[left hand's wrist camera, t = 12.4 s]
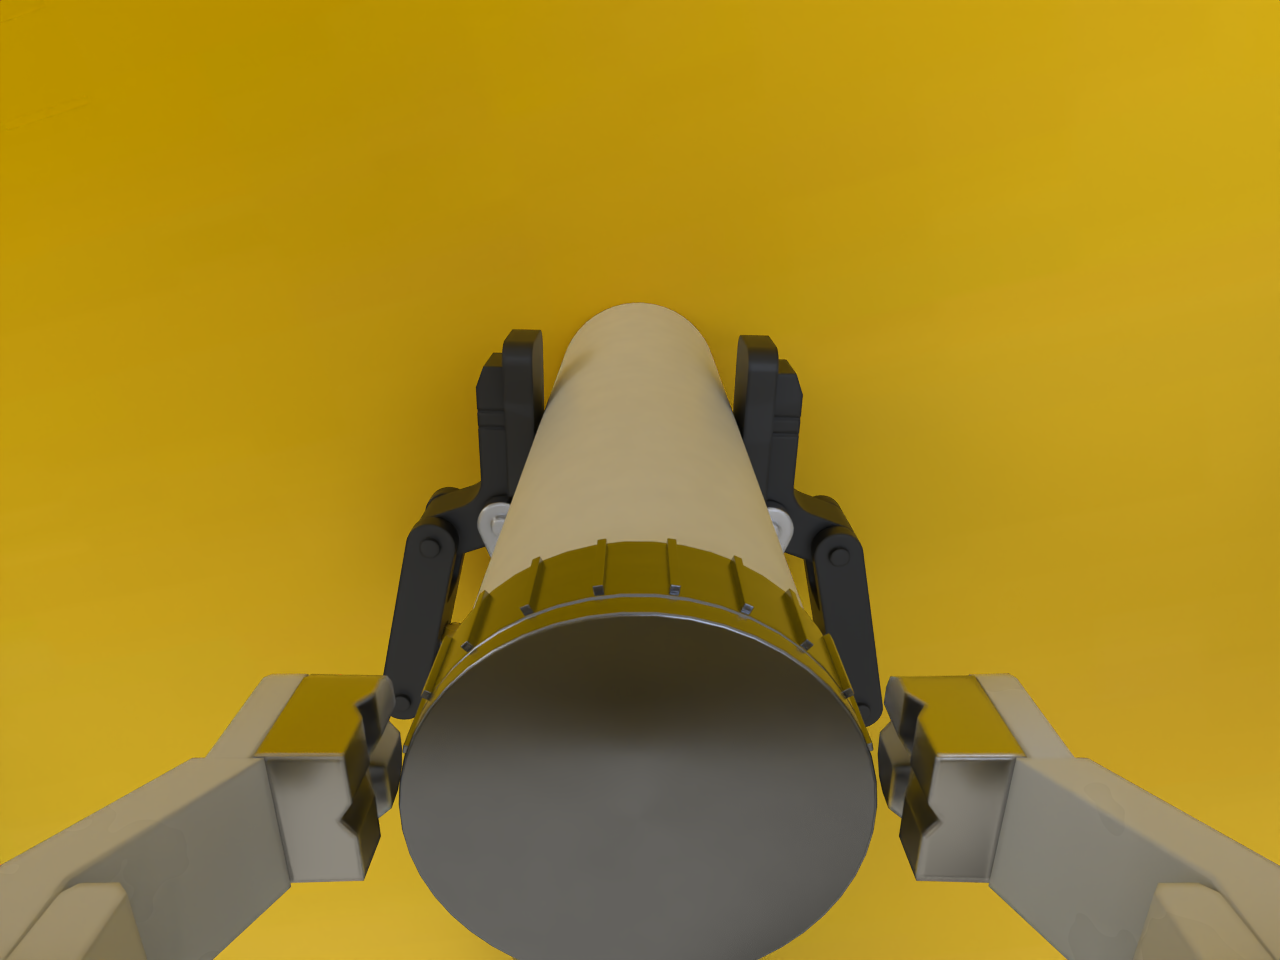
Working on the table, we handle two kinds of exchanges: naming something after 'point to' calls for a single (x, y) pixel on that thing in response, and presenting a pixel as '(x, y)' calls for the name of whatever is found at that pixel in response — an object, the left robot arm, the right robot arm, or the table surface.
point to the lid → (638, 762)
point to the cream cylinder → (638, 453)
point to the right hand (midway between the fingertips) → (639, 341)
